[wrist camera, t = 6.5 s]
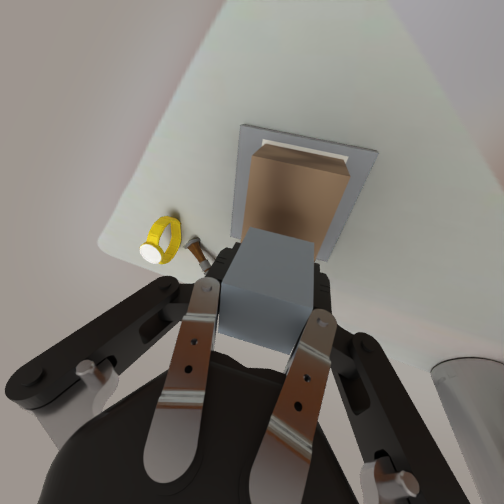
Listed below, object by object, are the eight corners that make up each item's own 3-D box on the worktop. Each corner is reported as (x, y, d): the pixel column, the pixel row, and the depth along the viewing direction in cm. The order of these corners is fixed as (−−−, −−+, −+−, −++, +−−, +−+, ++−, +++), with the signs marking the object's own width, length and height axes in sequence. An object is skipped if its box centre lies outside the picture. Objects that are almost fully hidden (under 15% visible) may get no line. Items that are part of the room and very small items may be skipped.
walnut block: (343, 159, 18) (350, 176, 14) (308, 250, 24) (307, 279, 20) (265, 143, 19) (251, 155, 15) (250, 235, 25) (238, 260, 21)
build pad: (376, 150, 18) (379, 153, 17) (326, 256, 26) (327, 262, 25) (243, 124, 20) (240, 125, 19) (232, 232, 27) (230, 236, 26)
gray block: (314, 242, 13) (313, 308, 9) (296, 287, 15) (289, 354, 11) (250, 226, 13) (221, 282, 9) (242, 273, 16) (218, 332, 12)
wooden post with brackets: (232, 285, 32) (212, 298, 28) (204, 240, 32) (181, 247, 28) (240, 280, 31) (220, 293, 27) (211, 234, 31) (188, 240, 27)
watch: (166, 208, 28) (135, 227, 23) (186, 213, 27) (159, 234, 23) (168, 245, 31) (141, 269, 26) (186, 251, 31) (162, 276, 26)
